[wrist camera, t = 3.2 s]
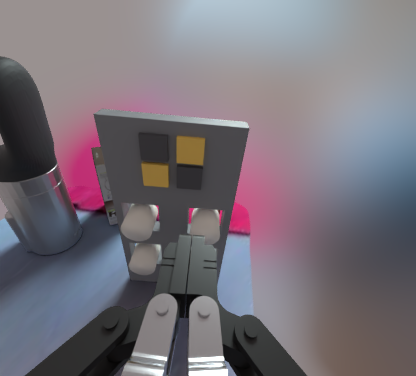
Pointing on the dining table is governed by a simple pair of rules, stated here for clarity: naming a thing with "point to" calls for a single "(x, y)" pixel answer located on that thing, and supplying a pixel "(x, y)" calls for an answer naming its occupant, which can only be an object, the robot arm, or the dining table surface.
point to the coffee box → (105, 185)
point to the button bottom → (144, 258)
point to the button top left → (139, 222)
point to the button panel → (171, 172)
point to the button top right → (205, 225)
